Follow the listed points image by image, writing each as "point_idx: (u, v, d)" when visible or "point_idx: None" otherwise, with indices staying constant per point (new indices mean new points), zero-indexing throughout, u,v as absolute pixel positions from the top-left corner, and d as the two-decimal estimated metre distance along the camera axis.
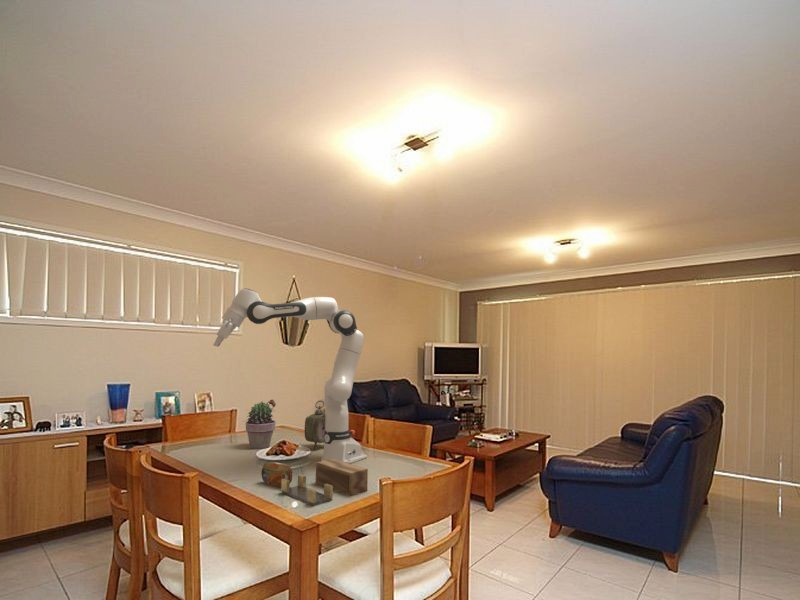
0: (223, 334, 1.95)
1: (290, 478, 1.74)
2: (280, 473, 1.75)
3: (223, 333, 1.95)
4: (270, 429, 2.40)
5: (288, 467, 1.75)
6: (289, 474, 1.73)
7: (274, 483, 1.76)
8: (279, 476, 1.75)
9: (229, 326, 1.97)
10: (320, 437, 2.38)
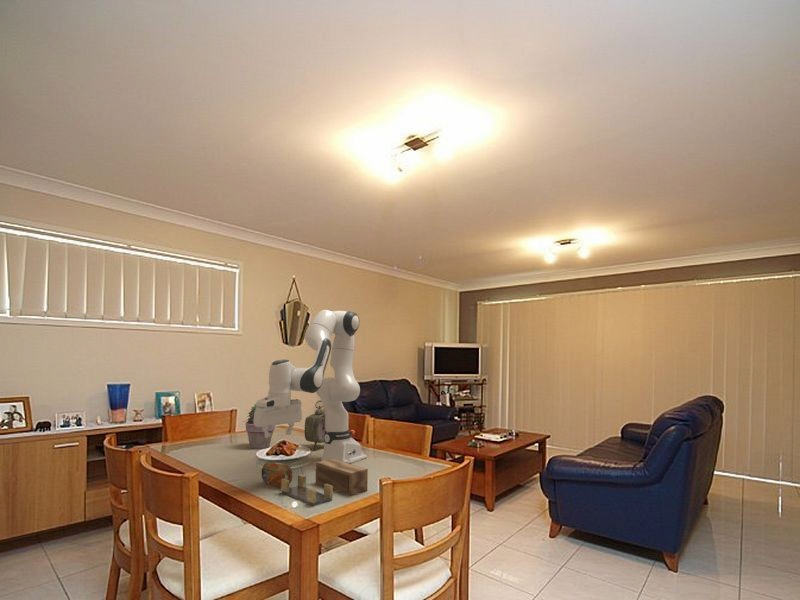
0: None
1: (290, 478, 1.74)
2: (280, 473, 1.75)
3: None
4: (270, 429, 2.40)
5: (288, 467, 1.75)
6: (289, 474, 1.73)
7: (274, 483, 1.76)
8: (279, 476, 1.75)
9: None
10: (320, 437, 2.38)
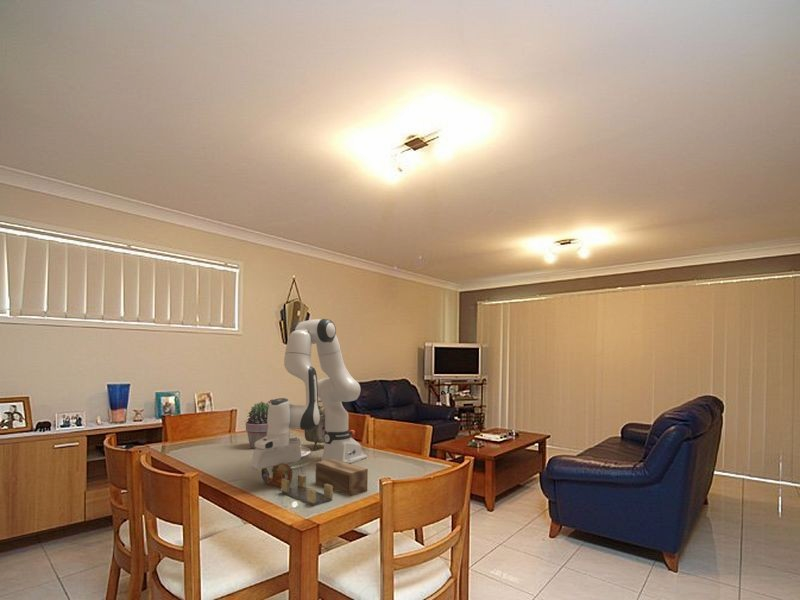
0: None
1: (290, 478, 1.74)
2: (280, 473, 1.75)
3: None
4: None
5: (288, 467, 1.75)
6: (289, 474, 1.73)
7: (274, 483, 1.76)
8: (278, 476, 1.75)
9: None
10: (320, 437, 2.38)
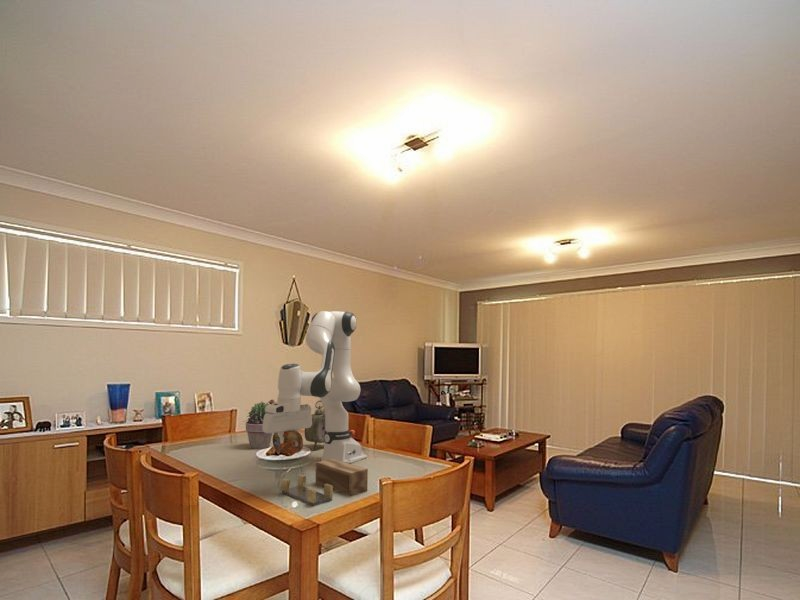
0: None
1: (301, 445, 1.70)
2: (290, 440, 1.72)
3: None
4: None
5: (298, 434, 1.71)
6: (299, 441, 1.69)
7: (285, 450, 1.73)
8: (289, 443, 1.72)
9: None
10: (320, 437, 2.38)
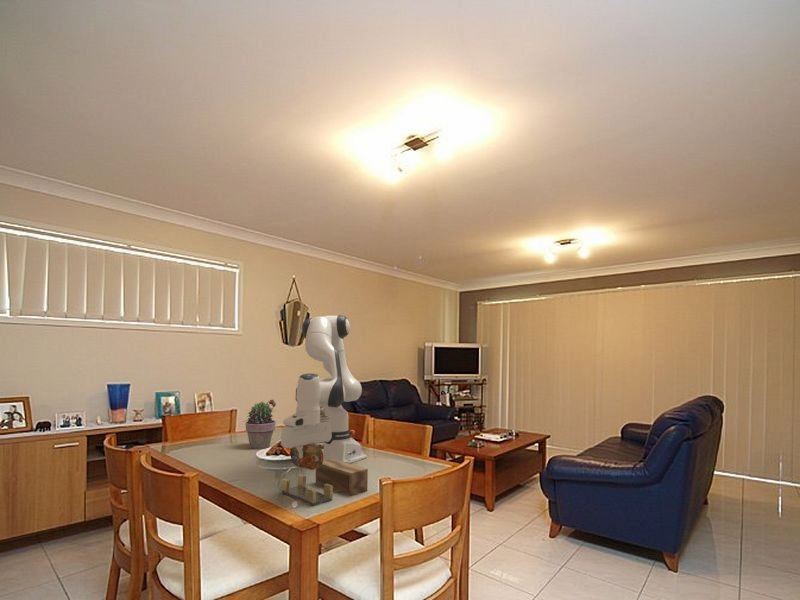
0: None
1: (321, 460, 1.61)
2: (310, 455, 1.63)
3: None
4: (270, 429, 2.40)
5: (318, 448, 1.62)
6: (320, 455, 1.60)
7: (304, 465, 1.64)
8: (309, 458, 1.63)
9: None
10: None
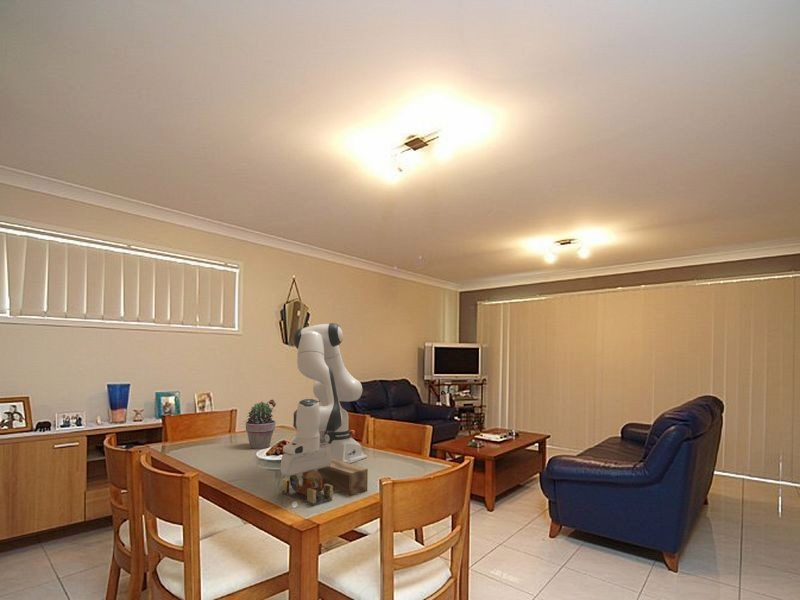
0: None
1: (321, 486, 1.60)
2: (310, 481, 1.62)
3: None
4: (270, 429, 2.40)
5: (318, 474, 1.61)
6: (319, 482, 1.60)
7: (304, 491, 1.63)
8: (308, 484, 1.62)
9: None
10: (320, 437, 2.38)
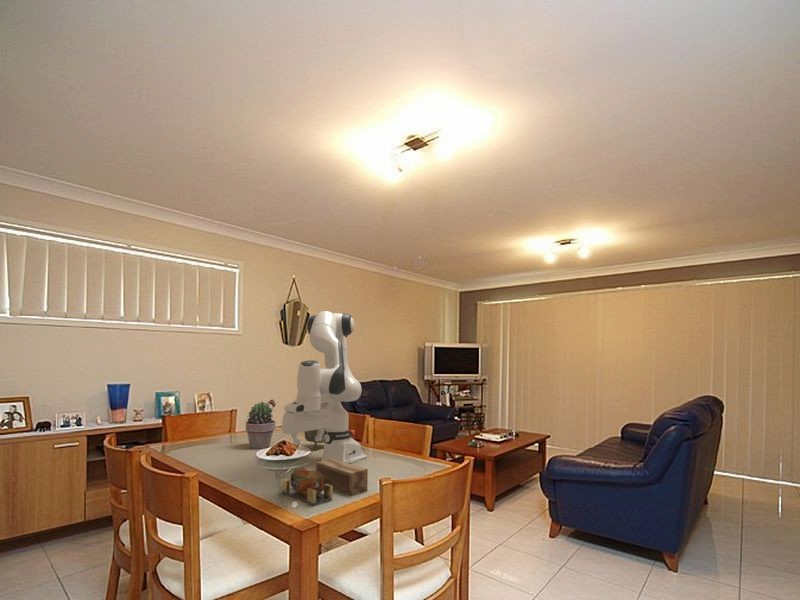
0: None
1: (321, 486, 1.60)
2: (311, 480, 1.62)
3: None
4: (270, 429, 2.40)
5: (319, 474, 1.62)
6: (320, 482, 1.60)
7: (304, 491, 1.63)
8: (309, 484, 1.62)
9: None
10: None
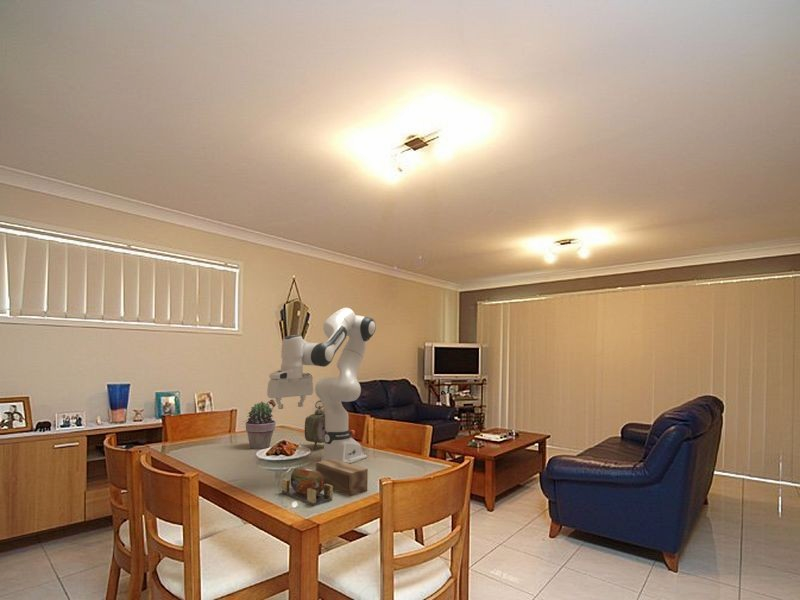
0: None
1: (321, 486, 1.60)
2: (311, 480, 1.62)
3: None
4: (270, 429, 2.40)
5: (319, 474, 1.62)
6: (320, 482, 1.60)
7: (304, 491, 1.63)
8: (309, 484, 1.62)
9: None
10: (320, 437, 2.38)
